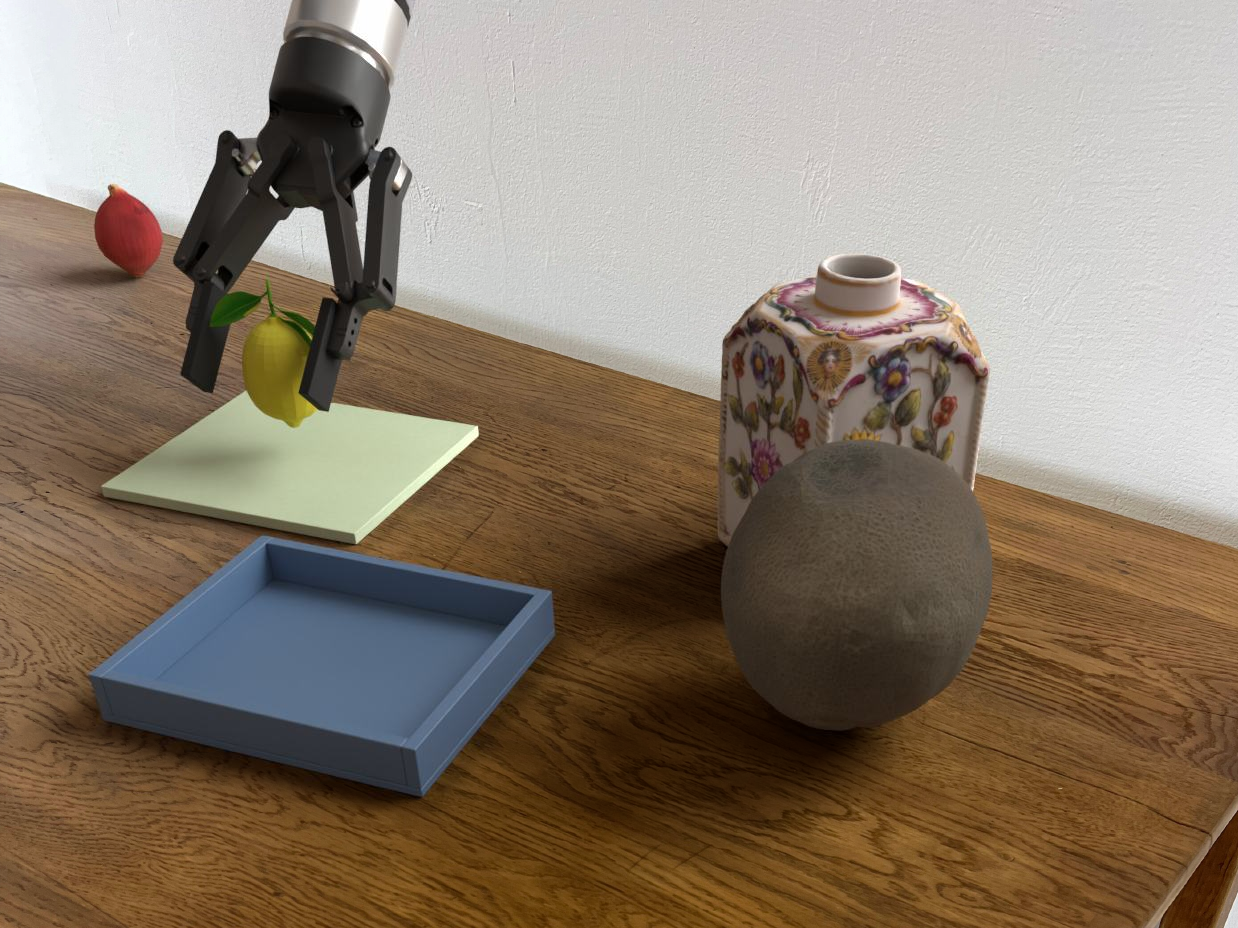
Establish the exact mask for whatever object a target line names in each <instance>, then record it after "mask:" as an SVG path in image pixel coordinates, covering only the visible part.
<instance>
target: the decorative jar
mask: <svg viewBox="0 0 1238 928" xmlns="http://www.w3.org/2000/svg"><path fill="white" fill-rule="evenodd" d="M721 354H722V355H721V369H720V370H721V372H720V375H721V376H720V377H721V378H720V405H719V406H720V407H719V426H718V428H719V431H718V459H717V460H718V461H717V533H718V539H719V541H720V542H722V544H724V545H725V546H726V547H728V546H729V543H730V540H731V537H732V535H733V533H734V531H735V529H736V527H737V526H738V524H739V522H740V521H741V519H742V517H743V516H744V514H745V512H746V510H747V507H748V505H749V503H750V502H751V500H752V499H753V497H754V496H755V495H756V493H757V492H758V491H759V490H760V488H761V487H762V486H763V485H764V484H765V483H766V482H767V481H768V480H769V479H770V478H771V477H772V476H773V475H774V474H775V473H776V472H777V471H778V470H779V469H780V468H781V467H783V466H784V465H786V464H788V463H790V462H792V461H794V460H795V459H796V458H798V457H799V456H800V455H802V454H804V453H805V452H807V451H810V450H812V449H814V448H817V447H819V446H822V445H824V444H827V443H830V442H835V441H842V440H860V439H871V440H877V441H883V442H887V443H891V444H895V445H900V446H906V447H909V448H912V449H916V450H918V451H921V452H924V453H927V454H930V455H932V456H934V457H936V458H938V459H940V460H941V461H943V462H945V463H946V464H947V465H949V466H950V467H951V468H952V469H953V470H954V471H956V472H957V473H958V474H959V475H960V476H961V477H962V479H963V480H964V481H965V482H966V483H967V485H968V486H969V487H970V488H971V490H972V491H973V492H974V487H975V481H976V480H975V477H976V472H977V471H976V470H977V466H978V464H977V463H978V459H979V458H978V456H979V452H980V444H981V435H982V429H983V421H984V414H985V408H986V407H985V405H986V402H987V395H988V388H989V382H990V370H991V368H990V366H989V363H988V362H987V360H986V357H985V355H984V354H983V352H982V349H981V347H980V344H979V342H978V340H977V338H976V337H975V335H974V334H973V332H972V330H971V328H970V325H968V322H967V319H966V317H965V315H964V313H963V311H962V308H961V307H960V305H959V304H958V303H957V302H956V301H954V300H953V299H951V298H949V297H947V296H946V295H944V294H942V293H941V292H939V291H937V290H936V289H934V288H932V287H930V286H929V285H927V284H925V283H923V282H921V281H918V280H916V279H911V278H902V269H901V267H900V265H899V264H898V263H897V262H896V261H894V260H892V259H889V258H887V257H884V256H880V255H874V254H868V253H867V254H866V253H841V254H839V253H838V254H835V255H832V256H831V255H830V256H828V257H826V258H824V259H823V260H821V261H820V263H819V264H818V267H817V271H816V274H814V275H813V274H812V275H807V276H802V277H798V278H794V279H790V280H786V281H782V282H779V283H776V284H774V285H773V286H771V288H769V290H768V291H766V292H765V293H763V294H762V295H761V296H760V297H759V298H758V299H757V300H756V301H755V302H754V303H752V304H751V305H750V306H748V308H747V309H746V310H744V312H743V314H742V315H741V317H739V319H738V320H737V321H736V322H735V323H734V324H733V325H732V326H731V328H730V330H729V331H728V332H727V333H726V334H725V335H724V337H723V339H722V344H721Z"/></svg>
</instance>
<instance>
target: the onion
mask: <svg viewBox="0 0 1238 928" xmlns="http://www.w3.org/2000/svg"><path fill="white" fill-rule="evenodd" d="M107 190H108V193H109V196H107V197H106V198H105V199H104V200H103V201H102V203H100V206H99V207H98V209H97V211H96V213H95V217H94V224H93V229H94V239H95V241H96V245H97V247H98V249H99V251H100V252H101V253H102V254H103V255H104V257H105V258H106V259H108V260H109V261H110V262H111V263H113V264H114V265H115V266H117V267H118V268H120V269H122V270H124V272H127V273H128V274H129V275H131V276H132V277H134V278H142V277H143V276H144V275H145V274H146V273H147V272H148V271H149V270H150V269H151V268H152V267H153V266H154V265H155V263H156V262H157V260H158V259H159V257H160V255H161V252H162V246H163V242H164V239H163V230H162V229H161V226H160V223H159V220H158V219H157V217H156V216H155V214H154V213H153V211H152V210H151V209H150V208H149V207H148V206H147V205H146V204H145V203H144V202H142V200H140V199H138V198H137V197H135V196H134V195H132V194H130V193H128V192H127V191H126V190H124V189H123V188H121V186H119V185H118V184H115V183H110V184H108V186H107Z"/></svg>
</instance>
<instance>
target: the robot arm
mask: <svg viewBox="0 0 1238 928" xmlns="http://www.w3.org/2000/svg"><path fill="white" fill-rule="evenodd" d="M415 4H416V0H291V3H290V5H289V10H288V13H287V18H286V21H285V24H284V28H283V32H282V38H283V39H282V40H283V44H282V45H281V46H280V47H279V49H278V50H279V51H278V54H277V58H276V62H275V65H274V70H273V74H272V76H271V81H270V86H269V89H268V108H269V110H268V111H269V113H268V119H267V120H266V123H265V125H264V126H263V127H262V128H261V129H260V131H259V133H258V134H257V137H244V138H239V137H237V136H236V135H235V134H234V132H233V131H231V130H228V129H226V130H223V131H222V132H221V133H219V135H218V138H217V143H216V144H217V145H216V154H215V162H214V165H213V167H212V169H211V171H210V174H209V176H208V178H207V180H206V183H205V185H204V188H203V189H202V192H201V194H200V197H199V198H198V201H197V203H196V205H195V207H194V210H193V211H192V214H191V216H190V219H189V221H188V223H187V226H186V228H185V231H184V233H183V234H182V237H181V239H180V240H179V241H180V242H179V244H178V245H177V249H176V251H175V253H174V255H173V258H172V263H173V266H174V267H176V268H177V270H179V271H180V272H181V273H182V274H183V275H184V276H185V277H187V278H188V279H189V280H191V281H192V283H193V290H192V293H191V298H190V303H189V305H188V310H187V314H186V317H185V321H184V322H185V329H186V330H187V331H188V332H189V333H190V334H189V338H188V341H187V346H186V350H185V353H184V357H183V362H182V365H181V369H180V372H179V375H180V376H181V377H182V378H184V379H185V380H187V381H188V382H189V383H191V384H192V385H194V386H195V388H197V389H199V390H200V391H202V392H203V393H207V394H214V390H215V387H216V382H217V379H218V375H219V371H220V367H221V363H222V360H223V356H224V351H225V347H226V344H227V339H228V336H229V332H230V328H231V324H229V325H225V326H213V327H210V321H211V316H212V313H213V311H214V309H215V307H216V305H217V303H218V302H219V301H220V300H221V299H222V298H223V297H224V296H225V295H227V294H229V292H230V291H231V290H232V288H233V287H234V285H235V284H236V282H237V281H238V280H239V279H240V277H241V275H242V274H243V273H244V271H245V269H246V268H247V267H248V266H249V264H250V263H251V261H252V260H253V258H254V257H255V255H256V254H257V253H258V251H259V250H260V249H261V247H262V246H263V244H264V243H265V242H266V240H267V238H268V237H269V235H270V234H272V232H273V230H274V229H275V227H276V226H277V224H278V223H279V222H280V221H286V220H287V219H288V218H289V217H290V216H291V214H292V213H293V211H294V210H295V209H306V208H314V209H316V210H318V211H321V212H322V217H323V224H324V228H325V235H326V242H327V248H328V255H329V261H330V266H331V273H332V281H333V287H332V286H331V287H329V289H330V292H331V293H333V295H335V297H337V301H336V300H335V299H334V298H331V297H326V296H325V297H324V296H323V297H322V298H321V301H320V306H319V310H318V314H317V318H316V322H315V324H314V326H315V329H314V333H313V336H311V338H312V341H311V345H310V349H309V353H308V357H307V361H306V365H305V369H304V373H303V376H302V380H301V384H300V388H299V392H298V393H299V394H300V395H301V396H302V397H304V398H305V399H306V400H307V401H308V402H310V403H311V404H312V405H313V406H314V407H315V408H317V409H318V410H319V411H326V412H329V409H330V405H331V403H332V401H333V397H334V393H335V389H336V385H337V381H338V377H339V373H340V369H341V366H342V361H346V362H349V361H350V360H351V359H352V357H353V356H354V354H355V350H356V346H357V342H358V338H359V334H360V330H361V326H362V322H363V319H364V317H366V316H367V315H368V313H369V312H371V311H377V310H381V311H383V312H390V311H391V310H393V309H394V307H395V305H396V301H397V300H396V299H397V285H398V272H399V256H400V242H401V230H402V229H401V227H402V213H403V202H404V200H405V197H406V195H407V192H408V189H409V187H410V185H411V182H412V180H413V172H412V171H411V169H410V168H409V167H408V165H407V163H406V162H405V161H404V160H403V158H402V157H401V155H400V154H399V153H398V152H397V150H396V149H395V147H392V146H386V147H384V148H383V149H382V150H376V147H378V145H379V143H380V142H381V137H382V134H383V130H384V126H385V123H386V118H387V115H388V111H389V107H390V103H391V91H390V90H391V89H392V88H393V86H394V85H395V81H396V77H397V73H398V69H399V65H400V62H401V58H402V53H403V49H404V45H405V41H406V39H407V34H408V30H409V25H410V22H411V18H412V15H413V10H414V7H415ZM258 164H259V165H258ZM257 165H258V167H257ZM368 177H369V180H370V181H369V186H368V195H367V196H368V197H367V212H366V225H365V239H364V251H363V258H362V254H361V246H360V241H359V235H358V228H357V223H358V221H359V217H358V210H357V205H356V198H355V193H354V191H355V190H356V189H357V188H358V187H359V186H360V185H361V184H362V183H363V182H364V181H365V180H366V179H367V178H368ZM271 188H272V190H273V191H274V192H275V193H276V194H277V197H276V196H275V195H273V193H272V192H271V191H270V190H271Z"/></svg>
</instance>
